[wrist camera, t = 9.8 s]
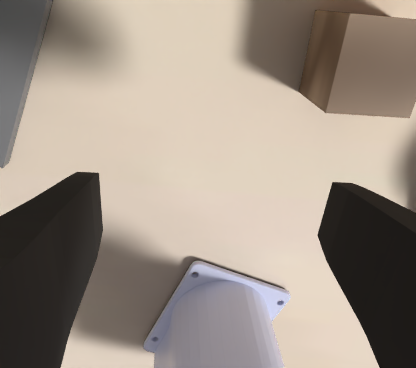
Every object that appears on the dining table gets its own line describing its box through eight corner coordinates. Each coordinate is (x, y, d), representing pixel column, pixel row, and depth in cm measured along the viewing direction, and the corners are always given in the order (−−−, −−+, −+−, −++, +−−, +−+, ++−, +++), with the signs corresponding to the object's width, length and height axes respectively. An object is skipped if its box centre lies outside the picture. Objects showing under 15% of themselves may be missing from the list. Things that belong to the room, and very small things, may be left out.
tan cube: (367, 96, 19) (409, 117, 16) (298, 91, 19) (325, 112, 15) (390, 17, 18) (444, 21, 14) (314, 9, 17) (350, 13, 14)
